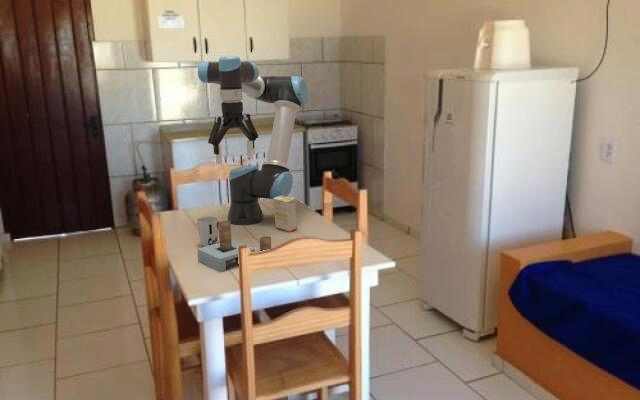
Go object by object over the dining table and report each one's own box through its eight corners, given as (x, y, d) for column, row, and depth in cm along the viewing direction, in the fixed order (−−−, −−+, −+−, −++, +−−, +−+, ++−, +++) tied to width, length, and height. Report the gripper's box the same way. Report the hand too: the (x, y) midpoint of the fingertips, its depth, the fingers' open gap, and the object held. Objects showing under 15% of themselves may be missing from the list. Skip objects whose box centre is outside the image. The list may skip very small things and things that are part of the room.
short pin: (258, 253, 199) (257, 237, 198) (266, 251, 202) (266, 235, 200) (264, 256, 196) (264, 240, 195) (273, 253, 199) (273, 237, 198)
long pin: (218, 261, 193) (216, 222, 189) (228, 258, 195) (225, 219, 192) (225, 264, 190) (222, 224, 186) (234, 261, 193) (232, 222, 189)
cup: (209, 249, 204) (207, 223, 202) (193, 246, 208) (191, 220, 206) (224, 243, 211) (223, 218, 208) (208, 240, 215) (206, 215, 212)
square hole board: (198, 261, 193) (197, 248, 192) (231, 251, 202) (231, 239, 201) (220, 271, 183) (220, 258, 182) (255, 260, 192) (254, 248, 191)
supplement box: (298, 228, 226) (295, 198, 221) (289, 232, 223) (287, 201, 218) (283, 224, 231) (281, 194, 227) (275, 227, 228) (272, 197, 223)
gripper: (207, 104, 186) (211, 167, 192) (266, 99, 203) (268, 157, 208) (195, 103, 192) (199, 164, 197) (253, 98, 208) (256, 154, 213)
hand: (235, 160), depth 202 cm, fingers open, 13 cm apart
